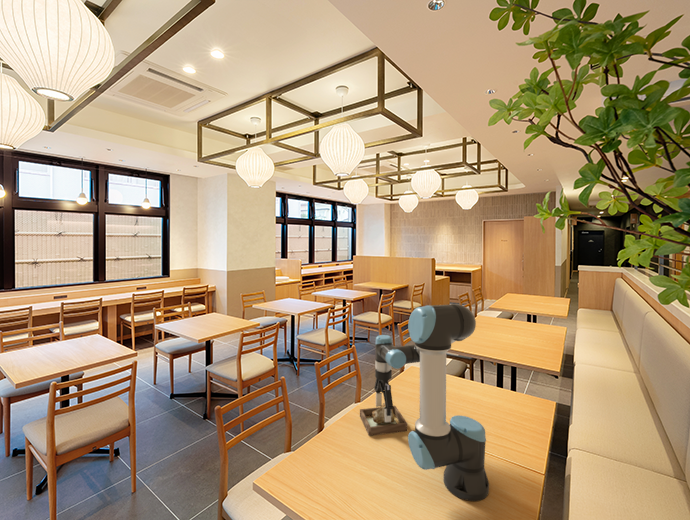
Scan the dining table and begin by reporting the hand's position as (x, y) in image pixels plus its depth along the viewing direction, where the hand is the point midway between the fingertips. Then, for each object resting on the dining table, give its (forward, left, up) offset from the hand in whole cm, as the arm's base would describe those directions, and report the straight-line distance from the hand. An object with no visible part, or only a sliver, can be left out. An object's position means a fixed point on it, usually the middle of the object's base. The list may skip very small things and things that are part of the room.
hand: (383, 413), depth 155 cm
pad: (0, 0, -5) cm, 5 cm away
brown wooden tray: (0, 0, -5) cm, 5 cm away
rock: (0, 0, -5) cm, 5 cm away
